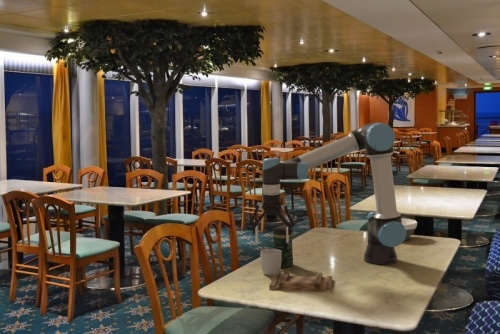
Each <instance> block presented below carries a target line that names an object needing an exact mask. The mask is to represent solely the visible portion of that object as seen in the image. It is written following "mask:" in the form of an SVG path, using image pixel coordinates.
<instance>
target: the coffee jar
mask: <svg viewBox="0 0 500 334" xmlns="http://www.w3.org/2000/svg"><path fill="white" fill-rule="evenodd" d="M286 228H287V225H286V224H282V225H279V226H277V227H275V226H274V228H273V230H272V237H273V249H278V250H281V257H282V260H281V268H288V267H290V266H292V265H293V264H294V255H293V235H294V232H293V227H291V235H289V242H288V243H286Z"/></svg>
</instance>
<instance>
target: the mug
mask: <svg viewBox="0 0 500 334" xmlns="http://www.w3.org/2000/svg"><path fill="white" fill-rule="evenodd" d="M281 260H282V257H281V250H278V249H274V248H265V249H262V250H260V265H261V270H262V272H263V274H264V275H266V276H274V275H275V274H280V272H281V268H282V267H281Z"/></svg>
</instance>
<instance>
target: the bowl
mask: <svg viewBox="0 0 500 334" xmlns="http://www.w3.org/2000/svg"><path fill="white" fill-rule="evenodd" d="M401 220H402V225H403V226H404V227H405V230H406V237H405V239H404V241H407V240H409V239H410V238H411V237H410V236H412V235H413V234H414V232H415V230H416V229H417V225H418V222H417V221H416V220H415V219H412V218H403V217H401Z"/></svg>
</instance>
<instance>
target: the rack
mask: <svg viewBox="0 0 500 334" xmlns="http://www.w3.org/2000/svg"><path fill="white" fill-rule="evenodd" d="M332 282H333V276H332V275H327V276H323V272H317V275H316V276H301V275H300V276H299V275H296V276H295V275H290V271H284V272H283V274H282V275H280V273H279V274H275V275H273V277H272V278H271V281H270V283H269V285H268V288H269V291H270V290H271V291H273V290H274V291H294V290H297V291H296V292H298V291H299V290H300V292H321V291H330V292H332V291H331V290H332ZM302 290H303V291H302Z"/></svg>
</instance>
